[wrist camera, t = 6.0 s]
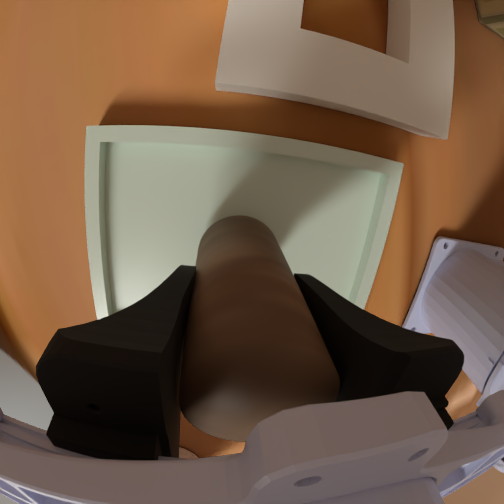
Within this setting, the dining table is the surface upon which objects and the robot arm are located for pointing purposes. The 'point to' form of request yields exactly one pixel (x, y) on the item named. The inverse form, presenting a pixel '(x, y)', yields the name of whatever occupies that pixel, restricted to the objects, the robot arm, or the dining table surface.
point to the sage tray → (229, 205)
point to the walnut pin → (248, 335)
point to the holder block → (345, 63)
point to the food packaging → (491, 15)
